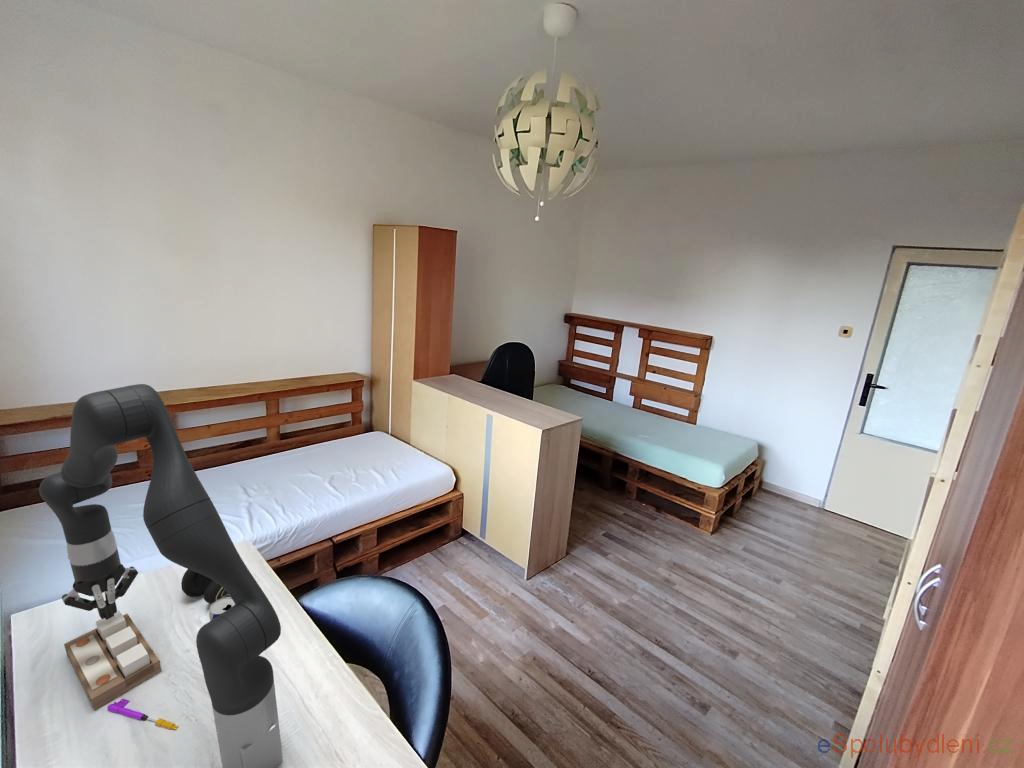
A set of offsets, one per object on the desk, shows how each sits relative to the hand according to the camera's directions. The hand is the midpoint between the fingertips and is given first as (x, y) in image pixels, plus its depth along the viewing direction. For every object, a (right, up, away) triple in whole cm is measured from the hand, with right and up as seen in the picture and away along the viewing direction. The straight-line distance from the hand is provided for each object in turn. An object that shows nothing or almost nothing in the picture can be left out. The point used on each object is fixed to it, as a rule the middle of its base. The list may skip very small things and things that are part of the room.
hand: (109, 616), depth 100 cm
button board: (+4, -8, -3) cm, 10 cm away
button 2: (+11, -7, -6) cm, 15 cm away
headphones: (+13, -3, +16) cm, 21 cm away
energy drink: (+26, -9, +2) cm, 27 cm away
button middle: (+5, -6, -2) cm, 8 cm away
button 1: (0, -4, +1) cm, 4 cm away
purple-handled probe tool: (+19, -13, -13) cm, 26 cm away
